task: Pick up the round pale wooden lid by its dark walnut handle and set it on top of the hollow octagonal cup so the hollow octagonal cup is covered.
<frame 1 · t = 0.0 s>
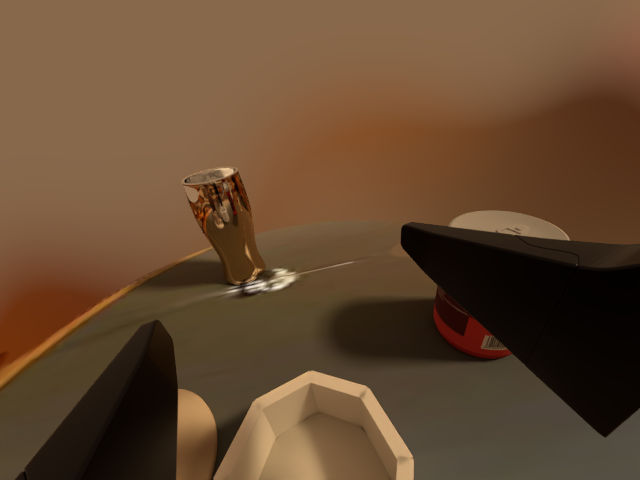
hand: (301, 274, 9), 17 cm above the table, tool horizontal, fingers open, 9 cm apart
beer glass: (246, 272, 37), on the table
canned food: (474, 326, 25), on the table
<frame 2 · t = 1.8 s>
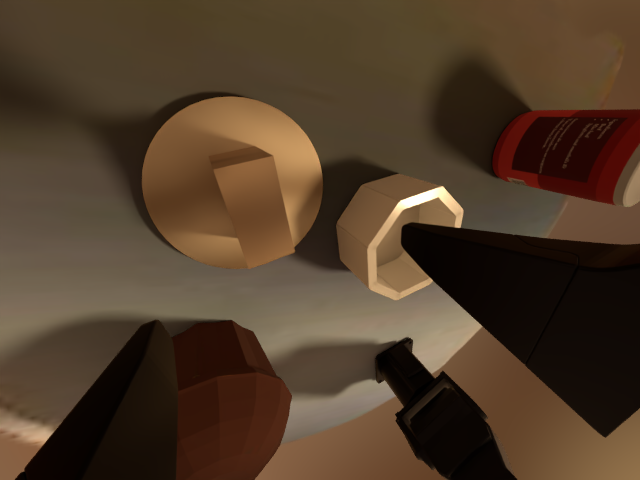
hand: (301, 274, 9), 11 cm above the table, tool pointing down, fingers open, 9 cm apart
lid: (243, 191, 18), on the table
muffin: (208, 356, 23), on the table
canned food: (512, 146, 29), on the table
hollow octagonal cup: (381, 226, 25), on the table
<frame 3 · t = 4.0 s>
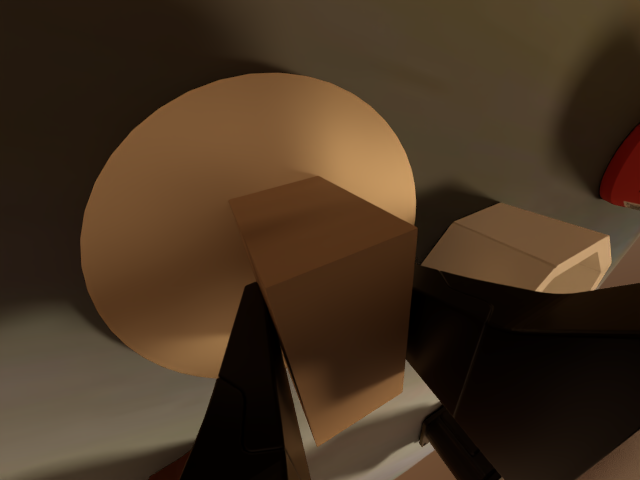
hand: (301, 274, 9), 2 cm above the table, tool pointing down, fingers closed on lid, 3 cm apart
lid: (285, 250, 10), on the table, touching gripper
muffin: (216, 474, 15), on the table
canned food: (625, 158, 21), on the table
hollow octagonal cup: (463, 275, 17), on the table
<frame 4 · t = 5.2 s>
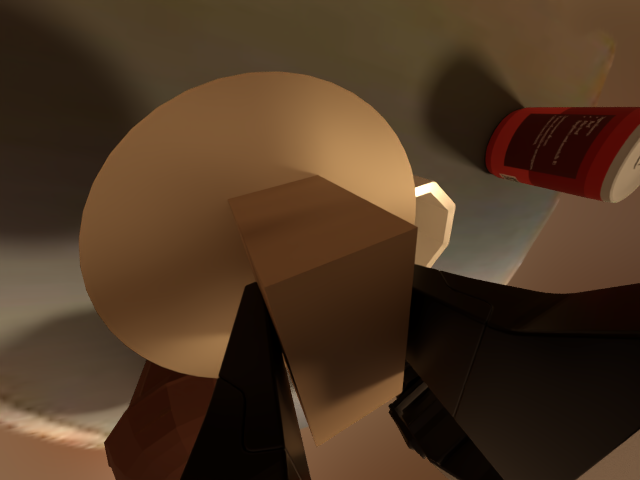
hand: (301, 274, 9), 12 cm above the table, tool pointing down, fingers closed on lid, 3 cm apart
lid: (284, 249, 10), point 10 cm above the table, touching gripper
muffin: (203, 348, 23), on the table
canned food: (505, 143, 29), on the table
hollow octagonal cup: (375, 221, 25), on the table
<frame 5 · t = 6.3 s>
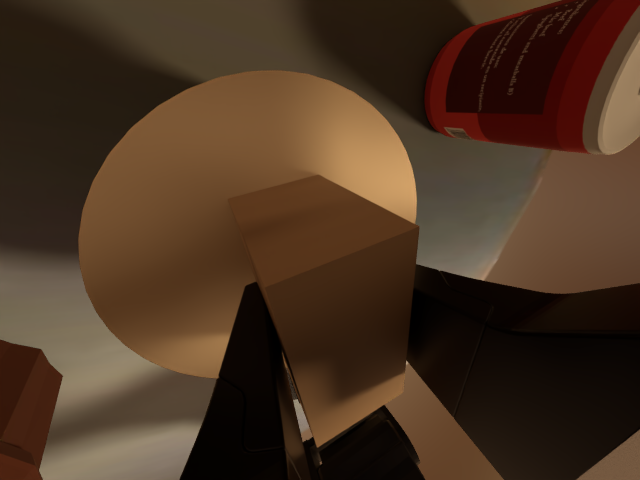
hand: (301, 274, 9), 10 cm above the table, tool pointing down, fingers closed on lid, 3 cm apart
lid: (284, 249, 10), point 8 cm above the table, touching gripper
canned food: (455, 87, 21), on the table
when the fingers open (8 cm above the table, at t = 6.9 s): lid drops 1 cm, resting on hollow octagonal cup.
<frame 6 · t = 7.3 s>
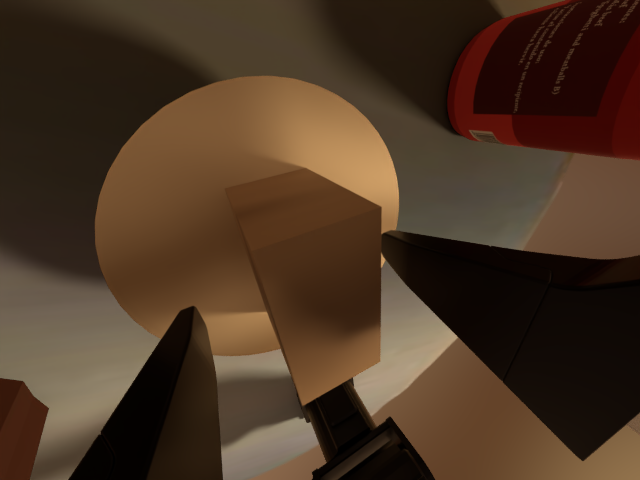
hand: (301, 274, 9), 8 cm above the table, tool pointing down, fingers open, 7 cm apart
lid: (277, 237, 11), point 5 cm above the table, touching hollow octagonal cup
canned food: (480, 86, 19), on the table
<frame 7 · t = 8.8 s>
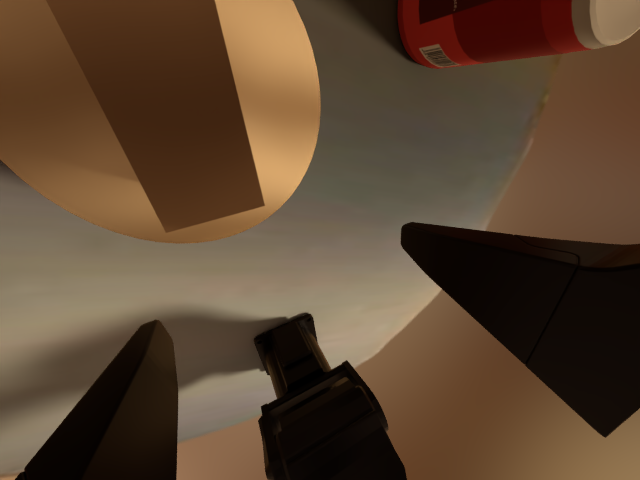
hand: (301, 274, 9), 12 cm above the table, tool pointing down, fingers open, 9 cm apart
lid: (182, 106, 10), point 5 cm above the table, touching hollow octagonal cup
canned food: (434, 8, 18), on the table
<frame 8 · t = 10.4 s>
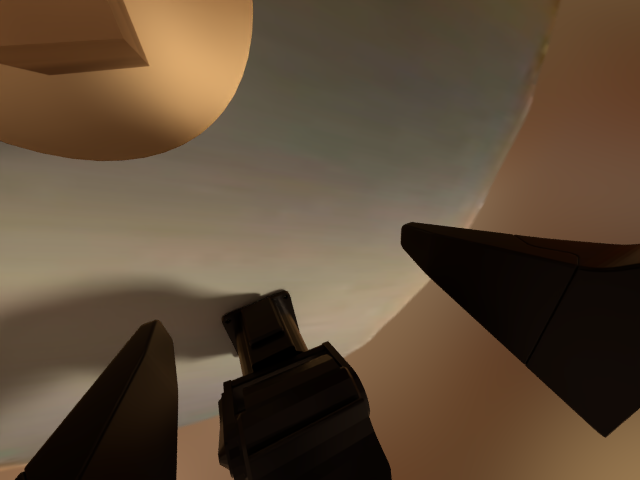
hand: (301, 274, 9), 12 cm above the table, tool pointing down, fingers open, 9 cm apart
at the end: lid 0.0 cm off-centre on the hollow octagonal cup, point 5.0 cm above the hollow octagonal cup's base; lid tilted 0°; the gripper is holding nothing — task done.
